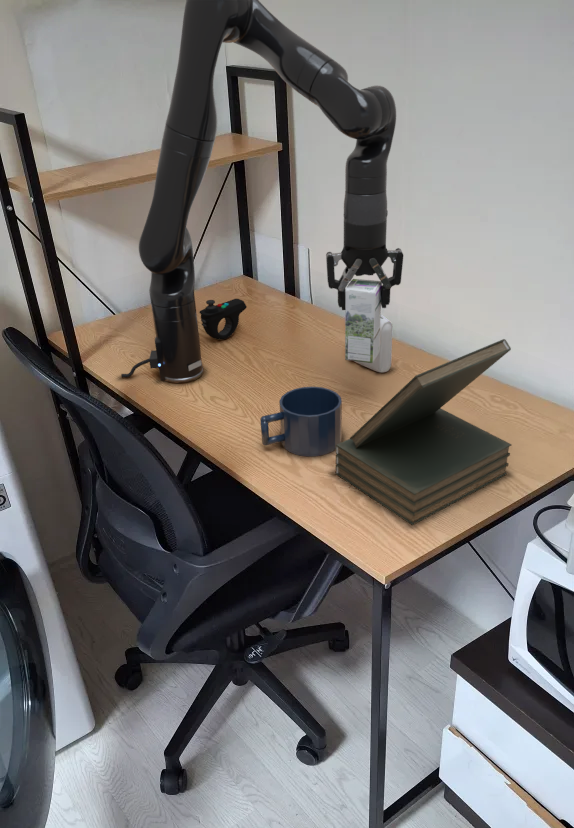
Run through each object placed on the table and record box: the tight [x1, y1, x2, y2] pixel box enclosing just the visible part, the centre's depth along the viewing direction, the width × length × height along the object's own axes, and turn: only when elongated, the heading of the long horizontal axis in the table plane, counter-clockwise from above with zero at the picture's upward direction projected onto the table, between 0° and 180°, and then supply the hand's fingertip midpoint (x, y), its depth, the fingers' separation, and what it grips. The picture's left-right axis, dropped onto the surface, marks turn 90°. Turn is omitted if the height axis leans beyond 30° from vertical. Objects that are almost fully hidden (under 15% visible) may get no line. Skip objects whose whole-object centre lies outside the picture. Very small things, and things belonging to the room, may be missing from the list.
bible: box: [335, 338, 513, 526], centre depth 131 cm, size 23×20×25 cm
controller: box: [198, 298, 247, 341], centre depth 186 cm, size 4×12×10 cm, turn 133°
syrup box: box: [344, 278, 383, 363], centre depth 147 cm, size 6×6×14 cm
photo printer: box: [353, 314, 393, 374], centre depth 170 cm, size 10×4×12 cm, turn 39°
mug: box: [259, 386, 343, 457], centre depth 146 cm, size 16×11×8 cm
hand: (363, 307), depth 146 cm, fingers closed on syrup box, 7 cm apart
